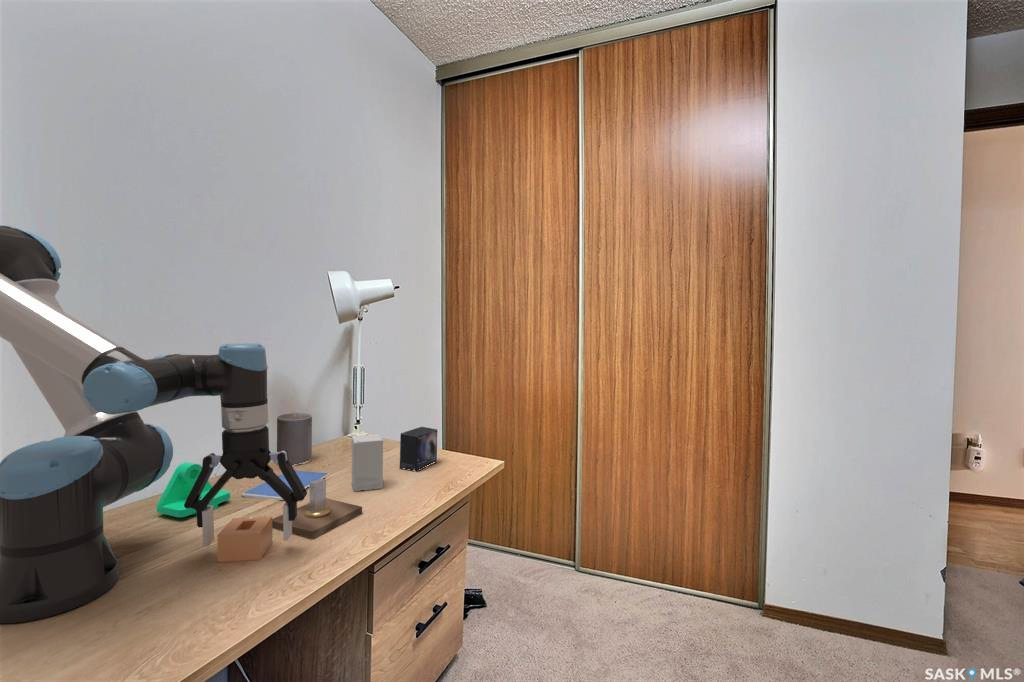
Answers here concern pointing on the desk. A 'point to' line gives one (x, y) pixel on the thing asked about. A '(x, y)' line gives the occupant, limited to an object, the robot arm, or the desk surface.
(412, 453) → the small box
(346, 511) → the base
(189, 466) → the camera mount
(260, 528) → the tan square frame
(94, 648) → the desk surface
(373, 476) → the supplement box
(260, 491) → the blue felt tray
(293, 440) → the pillar candle
